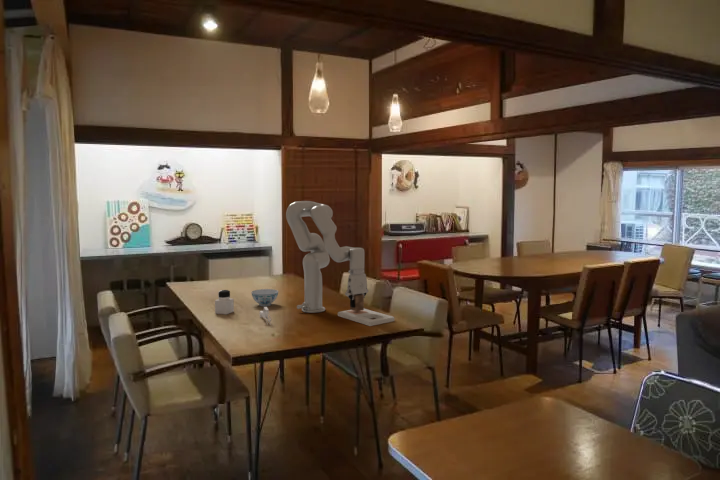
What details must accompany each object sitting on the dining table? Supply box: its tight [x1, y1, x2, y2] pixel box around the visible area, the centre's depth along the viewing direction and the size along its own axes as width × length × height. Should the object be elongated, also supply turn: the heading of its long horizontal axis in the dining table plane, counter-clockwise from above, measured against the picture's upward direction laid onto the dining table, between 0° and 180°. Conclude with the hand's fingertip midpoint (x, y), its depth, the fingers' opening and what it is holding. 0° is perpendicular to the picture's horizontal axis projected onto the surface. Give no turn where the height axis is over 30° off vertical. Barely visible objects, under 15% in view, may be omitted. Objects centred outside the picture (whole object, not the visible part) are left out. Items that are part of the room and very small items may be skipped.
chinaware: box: [251, 288, 279, 307], centre depth 302 cm, size 15×15×8 cm
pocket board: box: [337, 308, 395, 327], centre depth 273 cm, size 16×26×2 cm, turn 39°
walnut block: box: [349, 294, 365, 311], centre depth 277 cm, size 5×5×8 cm
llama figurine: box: [258, 306, 272, 326], centre depth 266 cm, size 2×11×18 cm
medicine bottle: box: [214, 289, 235, 315], centre depth 283 cm, size 7×7×12 cm
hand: (356, 305), depth 278 cm, fingers closed on walnut block, 5 cm apart
